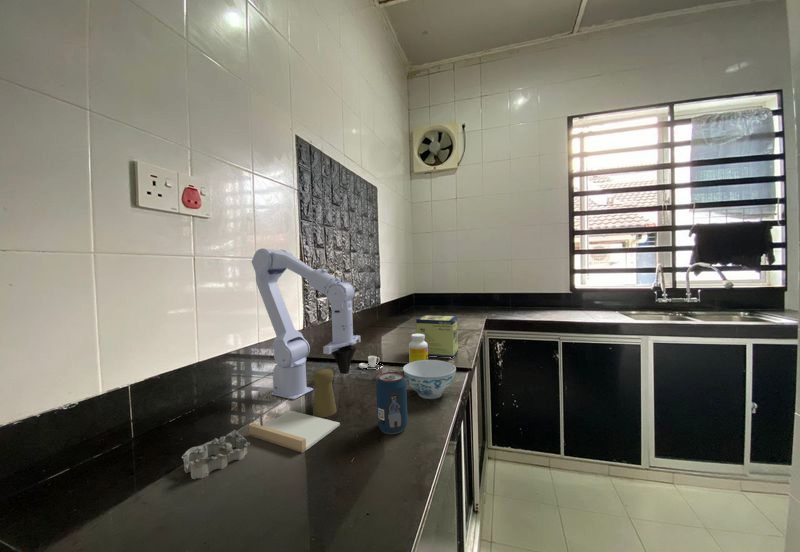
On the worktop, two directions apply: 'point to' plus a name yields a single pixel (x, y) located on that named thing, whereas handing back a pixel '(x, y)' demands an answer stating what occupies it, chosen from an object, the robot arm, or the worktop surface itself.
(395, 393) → the soda can
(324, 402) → the cork
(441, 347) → the protein box
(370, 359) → the teacup and saucer
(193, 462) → the egg carton
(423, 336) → the supplement bottle
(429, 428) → the worktop surface
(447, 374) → the chinaware
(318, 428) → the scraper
